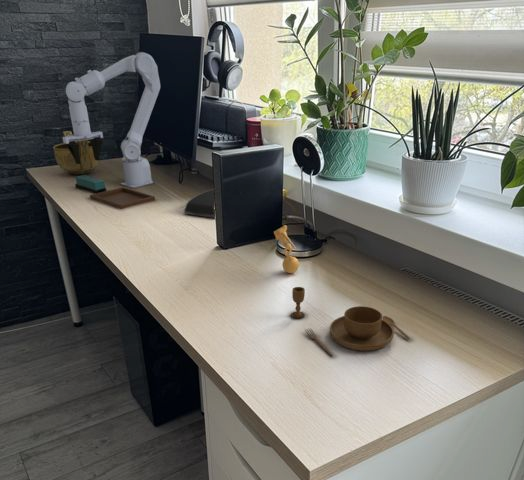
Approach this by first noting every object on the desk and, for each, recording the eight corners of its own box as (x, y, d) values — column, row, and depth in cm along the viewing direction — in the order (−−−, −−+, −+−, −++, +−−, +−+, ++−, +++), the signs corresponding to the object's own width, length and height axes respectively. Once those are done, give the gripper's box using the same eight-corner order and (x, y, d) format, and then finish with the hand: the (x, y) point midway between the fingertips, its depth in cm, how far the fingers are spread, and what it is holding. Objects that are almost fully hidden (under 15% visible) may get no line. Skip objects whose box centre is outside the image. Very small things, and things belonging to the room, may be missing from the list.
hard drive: (181, 214, 163) (180, 201, 161) (213, 198, 178) (212, 186, 176) (217, 219, 158) (216, 206, 156) (246, 203, 173) (246, 190, 171)
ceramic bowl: (110, 175, 207) (103, 135, 199) (67, 182, 199) (59, 140, 191) (92, 165, 222) (85, 127, 214) (51, 171, 214) (43, 132, 206)
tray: (123, 191, 187) (122, 186, 186) (155, 200, 176) (154, 196, 176) (90, 199, 179) (89, 194, 178) (121, 209, 168) (120, 205, 167)
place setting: (335, 363, 91) (338, 334, 88) (286, 314, 106) (286, 288, 103) (417, 342, 96) (422, 314, 93) (359, 298, 112) (361, 273, 109)
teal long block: (75, 187, 192) (73, 176, 190) (85, 185, 194) (83, 174, 192) (96, 194, 184) (94, 183, 182) (106, 192, 186) (104, 180, 184)
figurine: (307, 276, 122) (309, 227, 116) (285, 282, 119) (286, 232, 113) (288, 264, 128) (288, 217, 122) (267, 270, 126) (266, 221, 119)
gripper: (67, 124, 172) (75, 167, 179) (104, 119, 181) (111, 159, 188) (56, 122, 176) (65, 164, 183) (93, 117, 185) (100, 157, 192)
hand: (87, 161), depth 186 cm, fingers open, 7 cm apart
